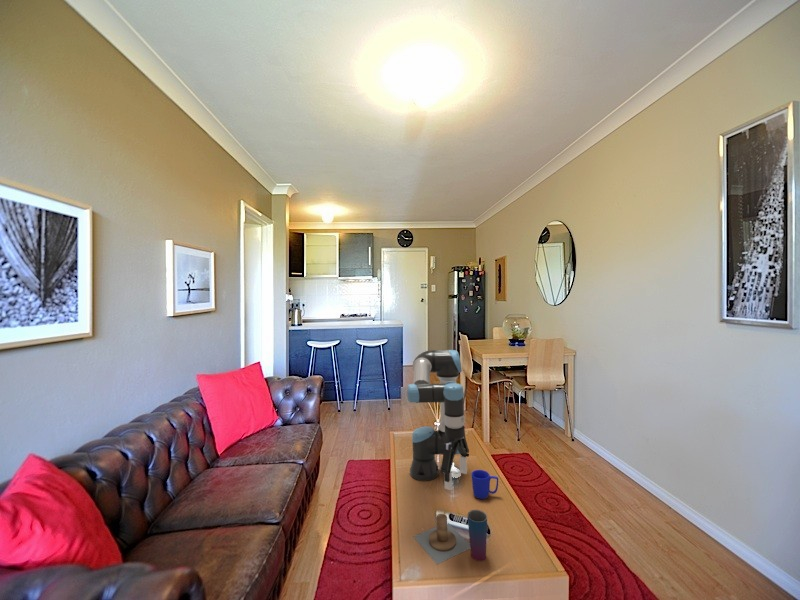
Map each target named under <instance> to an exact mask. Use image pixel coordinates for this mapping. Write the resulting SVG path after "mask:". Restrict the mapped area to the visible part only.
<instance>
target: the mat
mask: <svg viewBox="0 0 800 600" xmlns="http://www.w3.org/2000/svg"><path fill="white" fill-rule="evenodd" d="M435 530H437V526H435V527H432V528H429V529H427V530H425V531H423V532H421V533H418V534H416V535H413V536H412V537H413V538H414V540H415V541H416V542H417V543H418V544H419V545H420V547H421V548H422V549H423V550H424V551H425V553H426V554H427V555H428V556H429V557H430V559H432V561H433V562H434V563H435V564H436V565H439V564H442V563H443V562H445V561H448V560H449V559H452V558H454V557H455V556H458V555H460V554H462V553H464V552H466V551H468V550H471V548H470V542H469V541H467V539H466V538H464V536H462V535H461V534H460V533H459V532H458V531H457V530H456V529H455V528H454V527H453V526H452V525H451V524H449V525H447V530H448V531H450V532H452V533H453V534H454V535H455V538H456V545H455V547H454V548H453V549H451V550H449V551H438V550H435V549H434V548H432V547H431V546H430V544H429V535H430V534H431V533H432V532H433V531H435Z"/></svg>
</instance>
